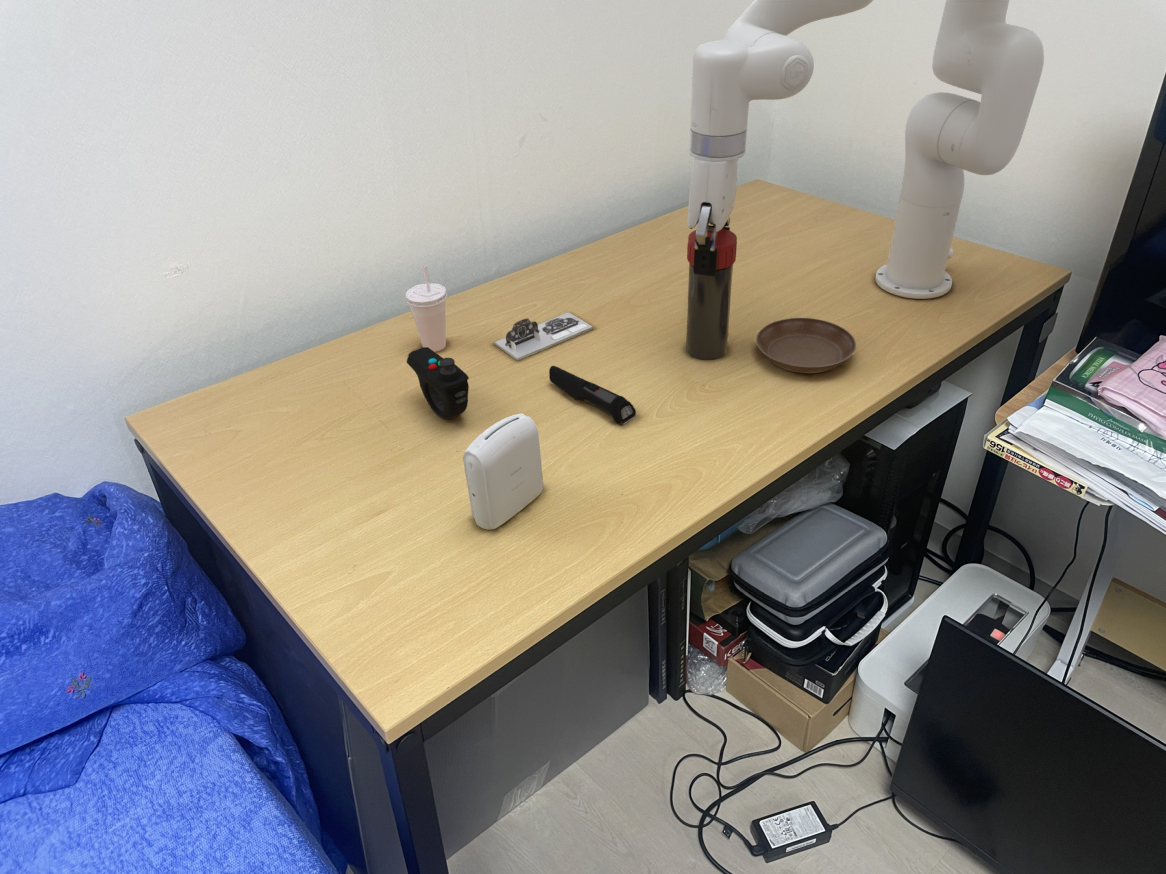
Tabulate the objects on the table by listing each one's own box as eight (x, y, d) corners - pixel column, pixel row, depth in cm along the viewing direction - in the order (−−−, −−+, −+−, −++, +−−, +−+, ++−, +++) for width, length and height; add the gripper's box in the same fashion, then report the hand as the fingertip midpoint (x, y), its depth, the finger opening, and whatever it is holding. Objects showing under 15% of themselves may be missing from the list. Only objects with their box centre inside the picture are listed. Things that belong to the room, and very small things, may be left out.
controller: (453, 435, 121) (443, 375, 115) (410, 398, 129) (399, 339, 123) (479, 423, 123) (471, 363, 117) (435, 387, 131) (425, 329, 125)
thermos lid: (677, 259, 128) (677, 237, 126) (710, 245, 132) (712, 223, 130) (711, 274, 124) (713, 252, 122) (745, 259, 127) (747, 237, 125)
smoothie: (447, 357, 138) (434, 277, 130) (408, 354, 139) (394, 274, 131) (459, 337, 143) (448, 258, 135) (422, 334, 144) (409, 256, 136)
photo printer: (492, 536, 105) (480, 455, 97) (467, 521, 107) (454, 441, 99) (549, 492, 111) (542, 412, 103) (524, 479, 113) (516, 400, 106)
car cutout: (517, 360, 136) (515, 335, 134) (494, 344, 141) (491, 319, 138) (592, 329, 143) (591, 304, 141) (568, 314, 148) (567, 290, 145)
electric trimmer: (562, 377, 132) (560, 359, 131) (638, 415, 123) (637, 397, 121) (544, 387, 130) (542, 369, 128) (619, 427, 121) (619, 408, 119)
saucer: (736, 360, 134) (738, 345, 132) (785, 322, 143) (787, 307, 141) (824, 393, 126) (827, 377, 124) (870, 350, 135) (872, 335, 133)
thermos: (703, 334, 141) (709, 229, 130) (735, 348, 137) (743, 241, 126) (677, 350, 137) (680, 243, 126) (709, 364, 133) (715, 256, 123)
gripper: (706, 120, 125) (700, 236, 136) (673, 160, 112) (670, 285, 123) (758, 124, 123) (748, 241, 133) (731, 166, 110) (722, 292, 121)
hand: (711, 262), depth 128 cm, fingers closed on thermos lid, 7 cm apart
